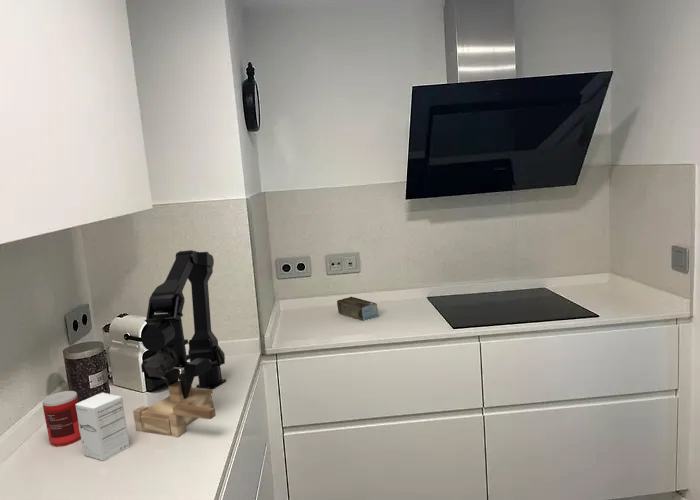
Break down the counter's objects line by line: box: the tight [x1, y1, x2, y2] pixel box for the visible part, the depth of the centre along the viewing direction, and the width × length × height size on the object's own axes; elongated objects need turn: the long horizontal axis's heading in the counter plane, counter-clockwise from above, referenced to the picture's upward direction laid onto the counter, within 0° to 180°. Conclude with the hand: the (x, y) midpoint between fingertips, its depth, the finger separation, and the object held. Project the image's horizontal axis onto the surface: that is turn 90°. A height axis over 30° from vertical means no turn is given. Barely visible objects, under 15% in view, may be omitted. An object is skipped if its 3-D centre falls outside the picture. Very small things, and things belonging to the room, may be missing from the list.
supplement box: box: [75, 392, 130, 462], centre depth 127 cm, size 7×7×13 cm
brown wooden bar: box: [172, 404, 217, 420], centre depth 130 cm, size 2×11×2 cm, turn 65°
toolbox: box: [132, 393, 215, 438], centre depth 141 cm, size 16×14×5 cm
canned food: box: [42, 390, 81, 447], centre depth 136 cm, size 8×8×11 cm
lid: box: [141, 379, 213, 419], centre depth 141 cm, size 16×9×5 cm, turn 155°
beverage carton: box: [336, 296, 379, 322], centre depth 227 cm, size 8×19×7 cm, turn 33°
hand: (180, 397), depth 142 cm, fingers closed on lid, 3 cm apart
